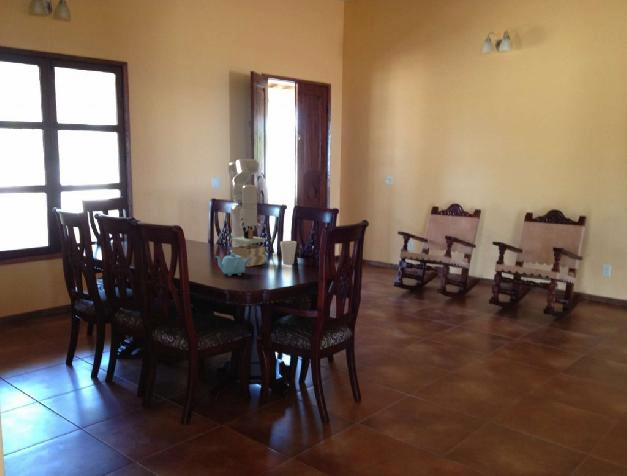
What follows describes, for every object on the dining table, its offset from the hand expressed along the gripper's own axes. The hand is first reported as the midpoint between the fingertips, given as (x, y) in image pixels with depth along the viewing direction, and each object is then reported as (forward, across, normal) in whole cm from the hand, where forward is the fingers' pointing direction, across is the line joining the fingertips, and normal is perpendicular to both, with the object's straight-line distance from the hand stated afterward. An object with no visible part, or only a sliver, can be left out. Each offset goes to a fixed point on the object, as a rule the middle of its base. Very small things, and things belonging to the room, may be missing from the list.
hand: (248, 237), depth 320 cm
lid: (+3, 0, 0) cm, 3 cm away
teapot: (+15, +28, +18) cm, 37 cm away
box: (+16, 0, 0) cm, 16 cm away
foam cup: (+16, -16, +18) cm, 28 cm away
